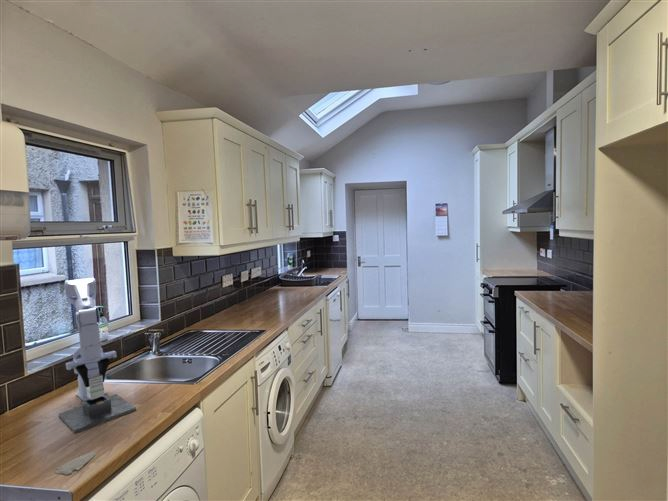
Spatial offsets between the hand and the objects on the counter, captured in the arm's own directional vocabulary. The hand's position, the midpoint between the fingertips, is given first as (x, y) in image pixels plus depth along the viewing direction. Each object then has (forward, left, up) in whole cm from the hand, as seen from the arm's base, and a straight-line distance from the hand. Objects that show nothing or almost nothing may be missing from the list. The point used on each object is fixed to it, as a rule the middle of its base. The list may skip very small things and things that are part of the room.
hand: (94, 384), depth 132 cm
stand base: (0, 0, -10) cm, 10 cm away
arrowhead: (+28, -13, -11) cm, 33 cm away
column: (0, 0, -4) cm, 4 cm away
